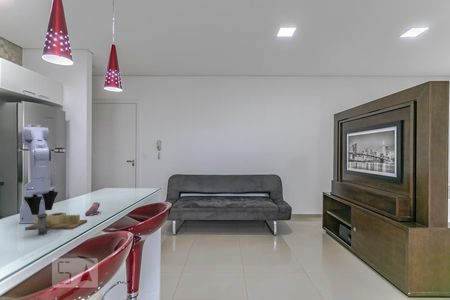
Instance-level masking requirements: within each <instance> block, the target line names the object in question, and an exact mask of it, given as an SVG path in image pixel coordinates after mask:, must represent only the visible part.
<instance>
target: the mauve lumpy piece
mask: <svg viewBox="0 0 450 300" xmlns="http://www.w3.org/2000/svg"><path fill="white" fill-rule="evenodd" d="M100 205H101V203H100V202H97V201H96V202H93V203H92V205H91V207H90V208H89V209H88V210H87V211H85V213H84V215H85V217H89V216H91V215H95V214H96V213H97V212H98V210H99V208H100Z"/></svg>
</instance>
